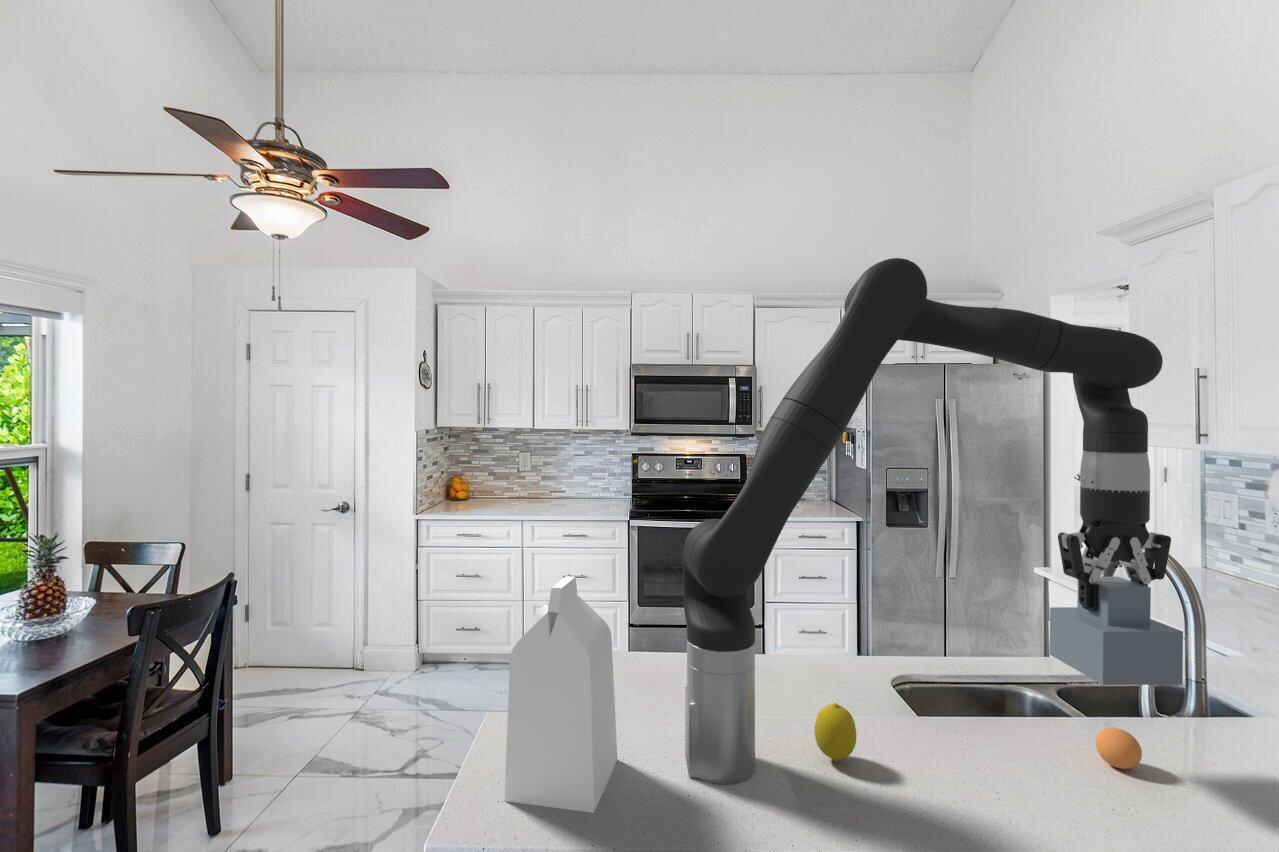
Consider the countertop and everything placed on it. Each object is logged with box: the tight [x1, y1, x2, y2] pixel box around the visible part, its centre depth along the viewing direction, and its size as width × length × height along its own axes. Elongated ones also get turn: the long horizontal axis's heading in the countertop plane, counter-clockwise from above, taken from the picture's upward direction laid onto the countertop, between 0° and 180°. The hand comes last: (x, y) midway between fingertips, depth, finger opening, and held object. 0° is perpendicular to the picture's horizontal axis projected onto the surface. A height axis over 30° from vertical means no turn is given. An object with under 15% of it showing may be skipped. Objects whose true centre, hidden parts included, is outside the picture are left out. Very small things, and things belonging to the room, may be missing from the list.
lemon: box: [814, 702, 857, 763], centre depth 87 cm, size 6×6×8 cm
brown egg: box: [1095, 727, 1143, 770], centre depth 85 cm, size 5×5×5 cm
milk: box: [503, 575, 618, 814], centre depth 82 cm, size 12×12×26 cm
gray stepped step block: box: [1049, 576, 1184, 686], centre depth 85 cm, size 10×10×12 cm
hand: (1113, 609), depth 85 cm, fingers closed on gray stepped step block, 5 cm apart
